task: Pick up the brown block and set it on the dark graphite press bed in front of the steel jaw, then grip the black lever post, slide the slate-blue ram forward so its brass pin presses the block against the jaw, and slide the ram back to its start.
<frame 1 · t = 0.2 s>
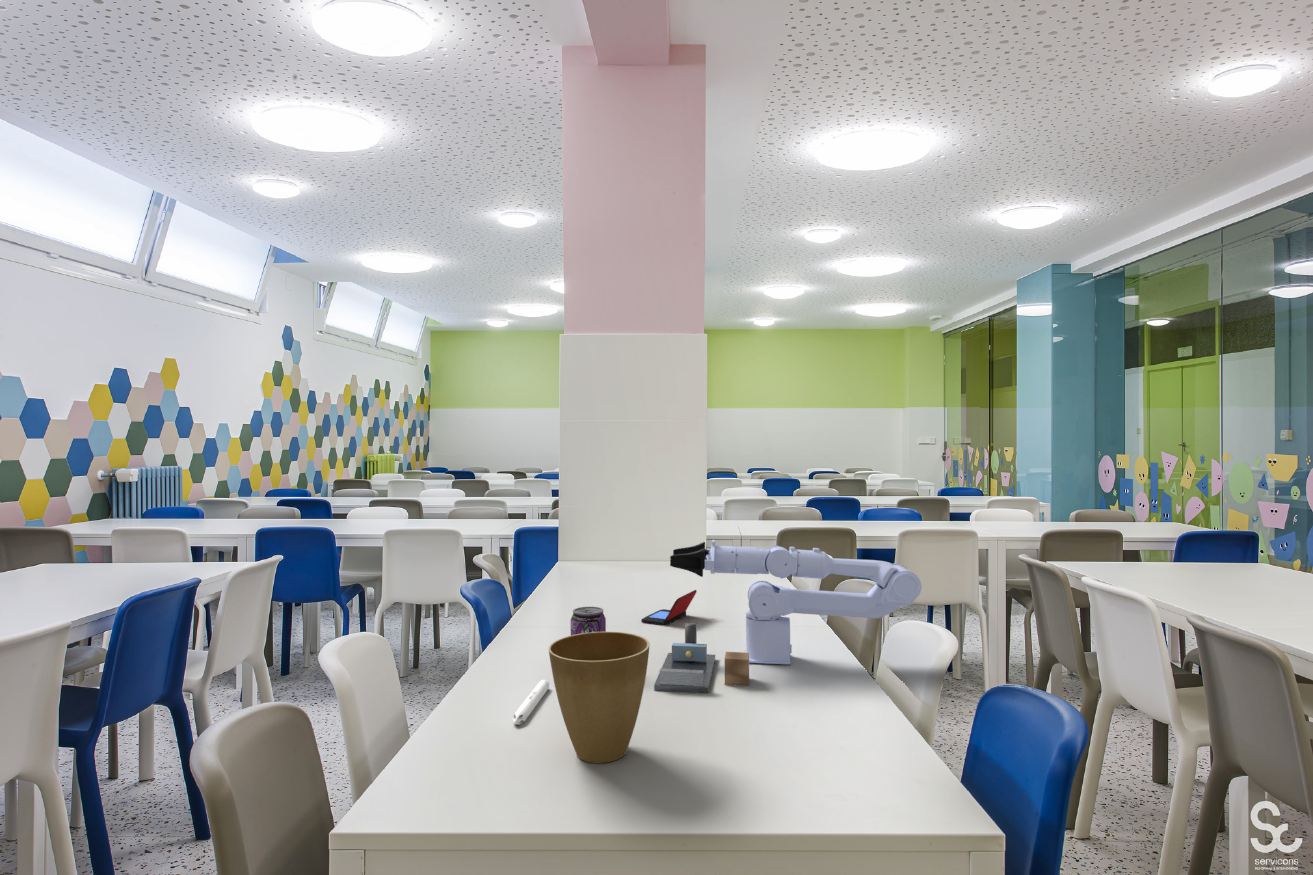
hand: (671, 557, 151), 21 cm above the table, tool horizontal, fingers open, 7 cm apart
brown block: (737, 681, 135), on the table
marker: (530, 709, 122), on the table
plant pot: (599, 753, 104), on the table
ram: (689, 642, 145), point 5 cm above the table, slide at 0.0 cm
handheld game console: (669, 621, 182), on the table
press bed: (686, 675, 138), on the table
beverage can: (588, 670, 142), on the table
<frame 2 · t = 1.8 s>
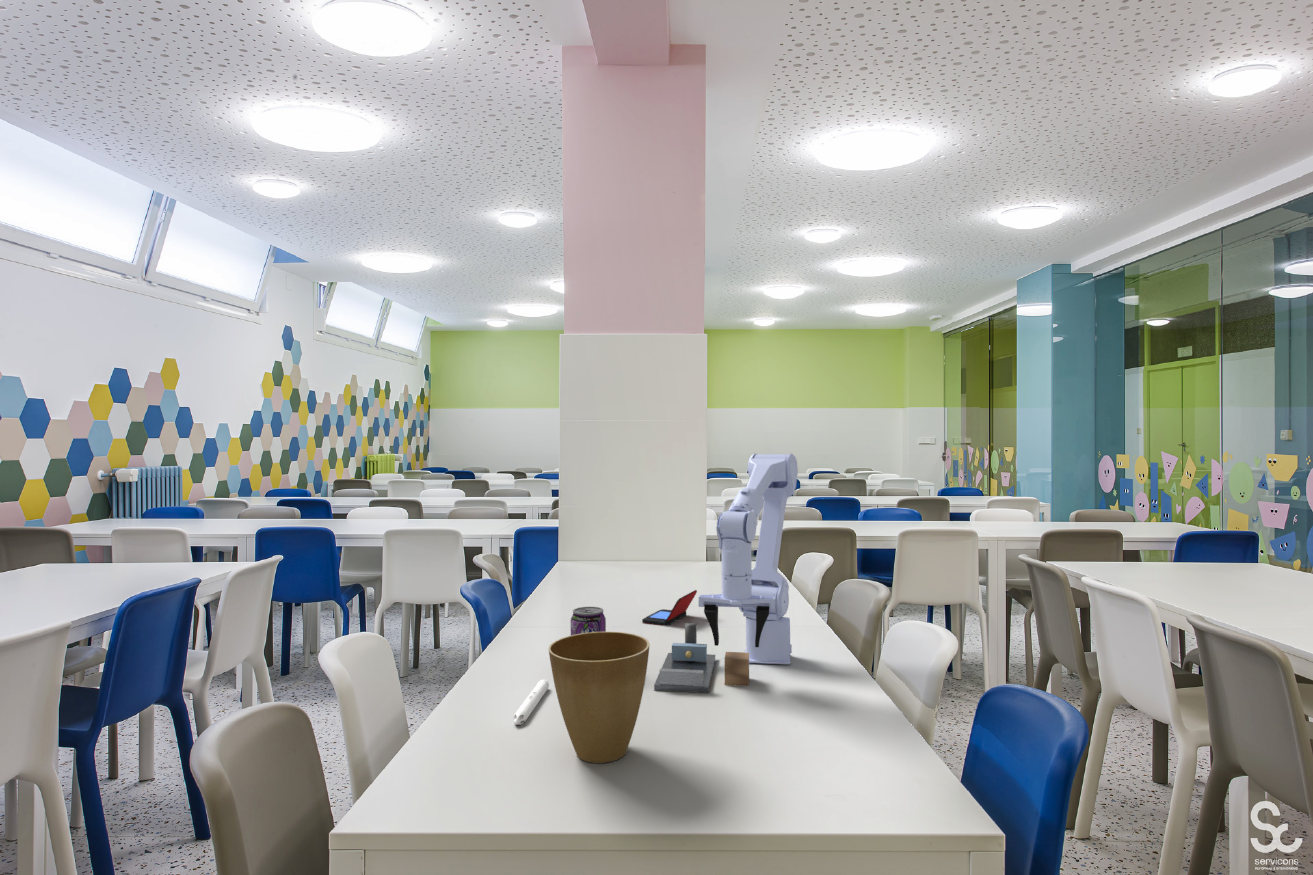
hand: (736, 644, 135), 7 cm above the table, tool pointing down, fingers open, 7 cm apart
nothing on the table moved.
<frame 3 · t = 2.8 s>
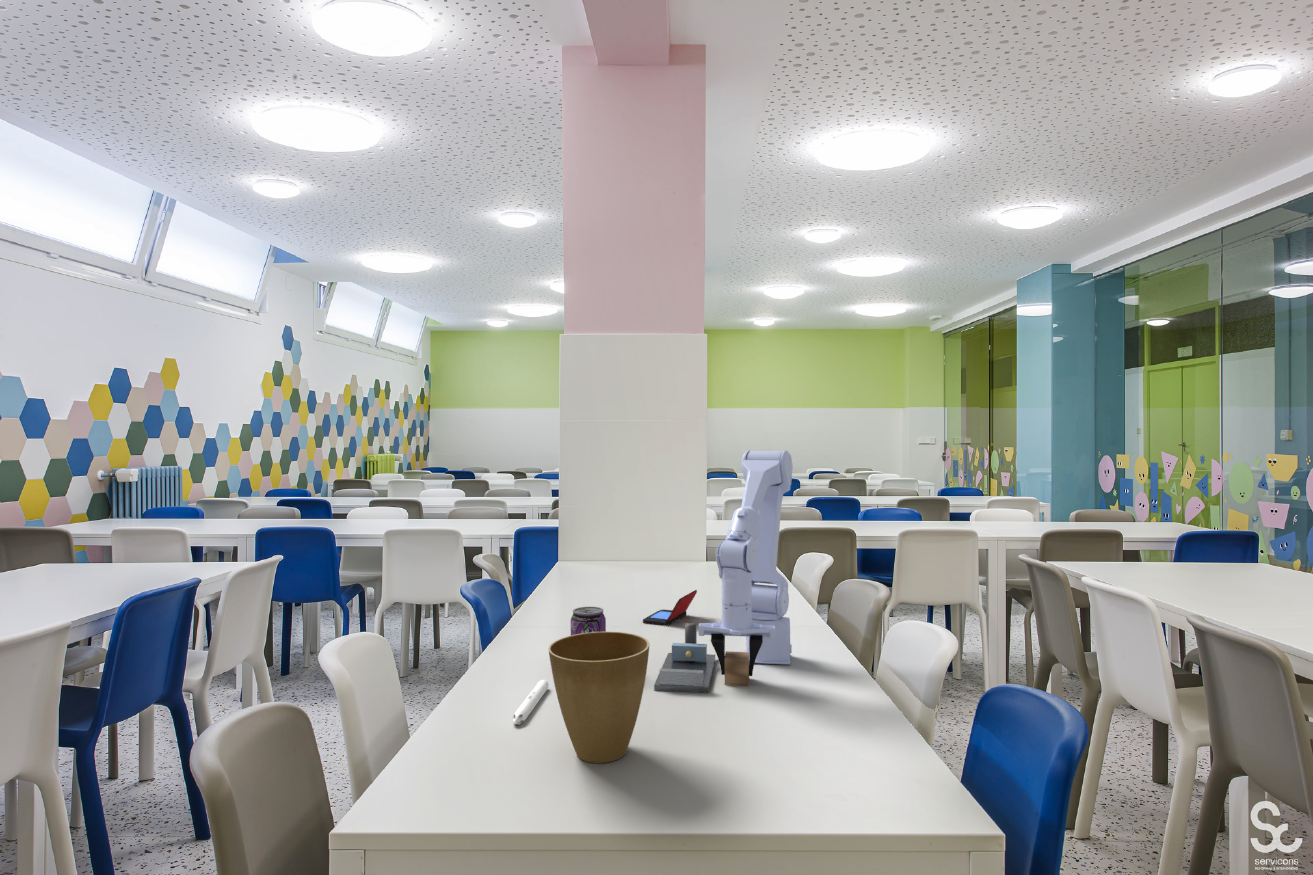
hand: (737, 673, 135), 1 cm above the table, tool pointing down, fingers closed on brown block, 4 cm apart
brown block: (737, 681, 135), on the table, touching gripper
everything else where it was.
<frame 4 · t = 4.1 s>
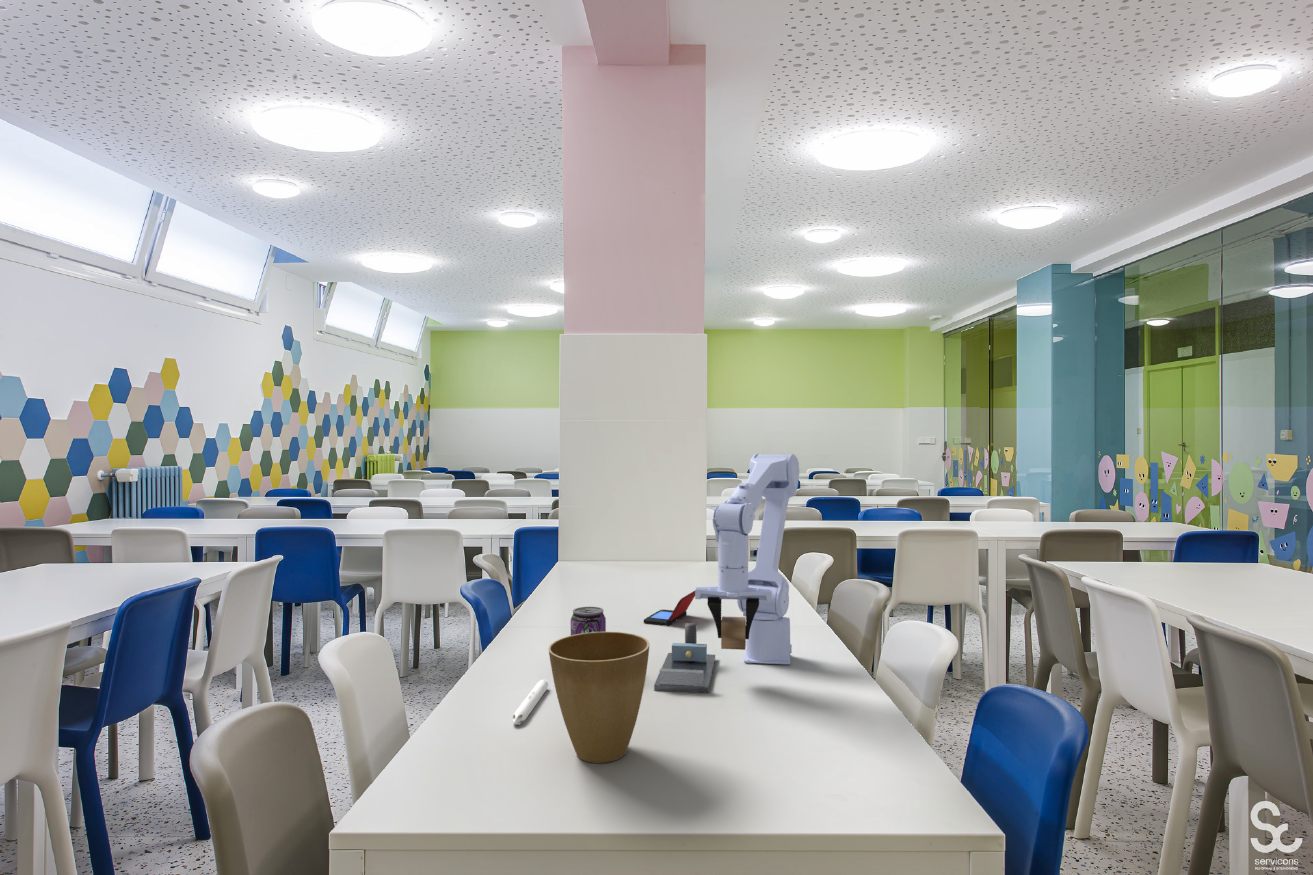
hand: (733, 637, 135), 8 cm above the table, tool pointing down, fingers closed on brown block, 4 cm apart
brown block: (733, 645, 135), point 7 cm above the table, touching gripper
everything else where it was.
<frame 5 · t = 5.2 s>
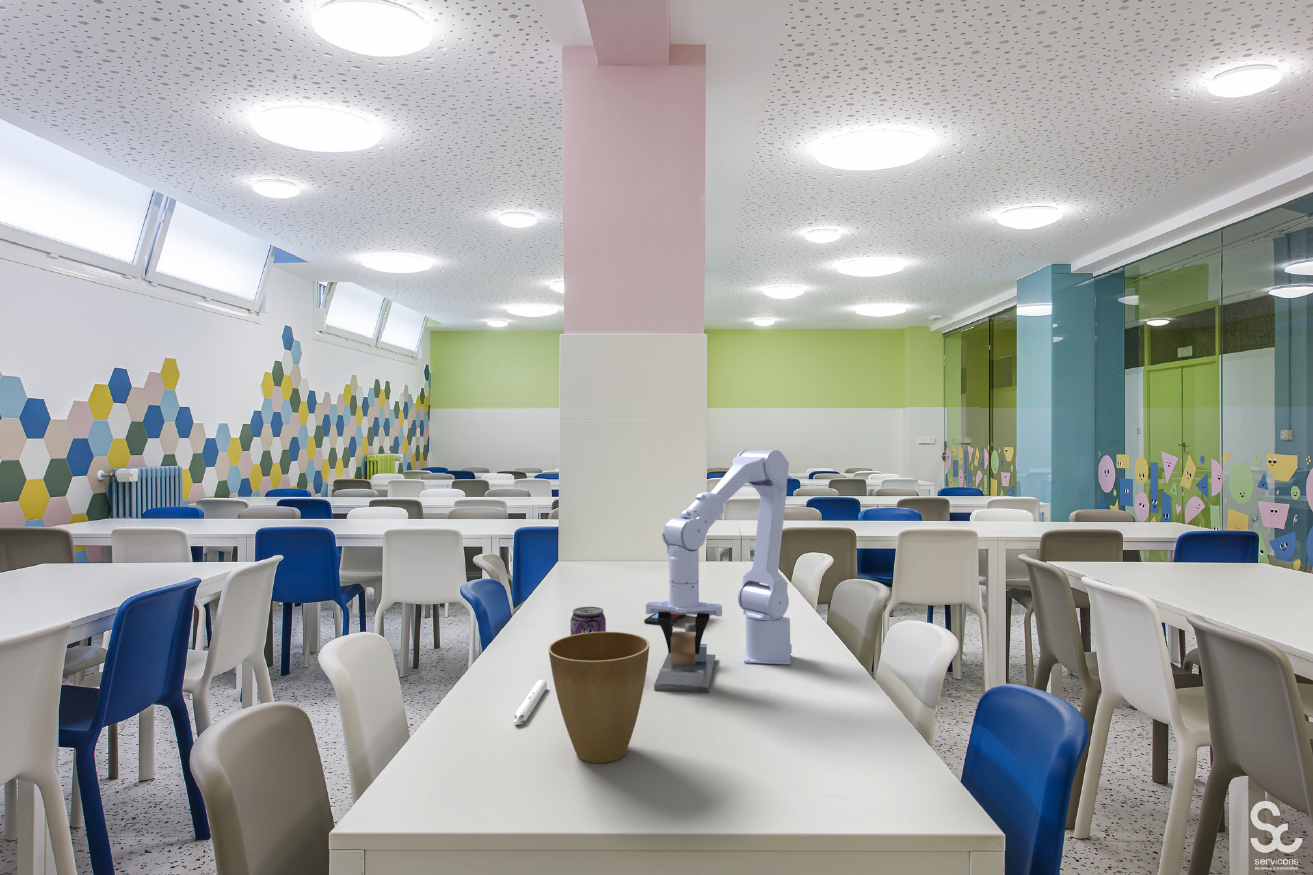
hand: (684, 652, 135), 6 cm above the table, tool pointing down, fingers closed on brown block, 4 cm apart
brown block: (684, 660, 135), point 4 cm above the table, touching gripper
everything else where it was.
when the fingers open (4 cm above the table, at t = 6.0 s): brown block drops 1 cm, resting on press bed.
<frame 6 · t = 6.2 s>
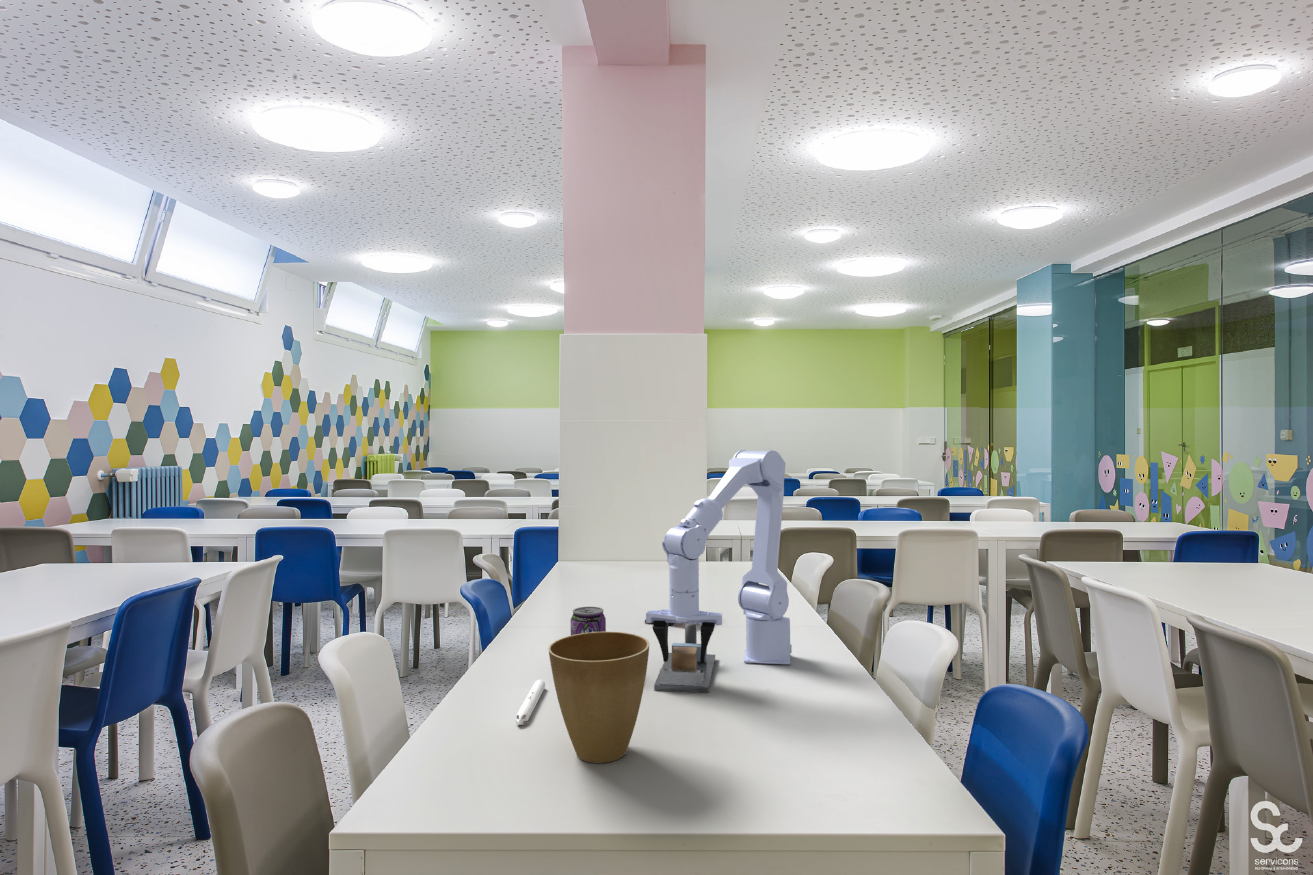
hand: (684, 660, 135), 4 cm above the table, tool pointing down, fingers open, 6 cm apart
brown block: (684, 676, 135), point 1 cm above the table, touching press bed
everything else where it was.
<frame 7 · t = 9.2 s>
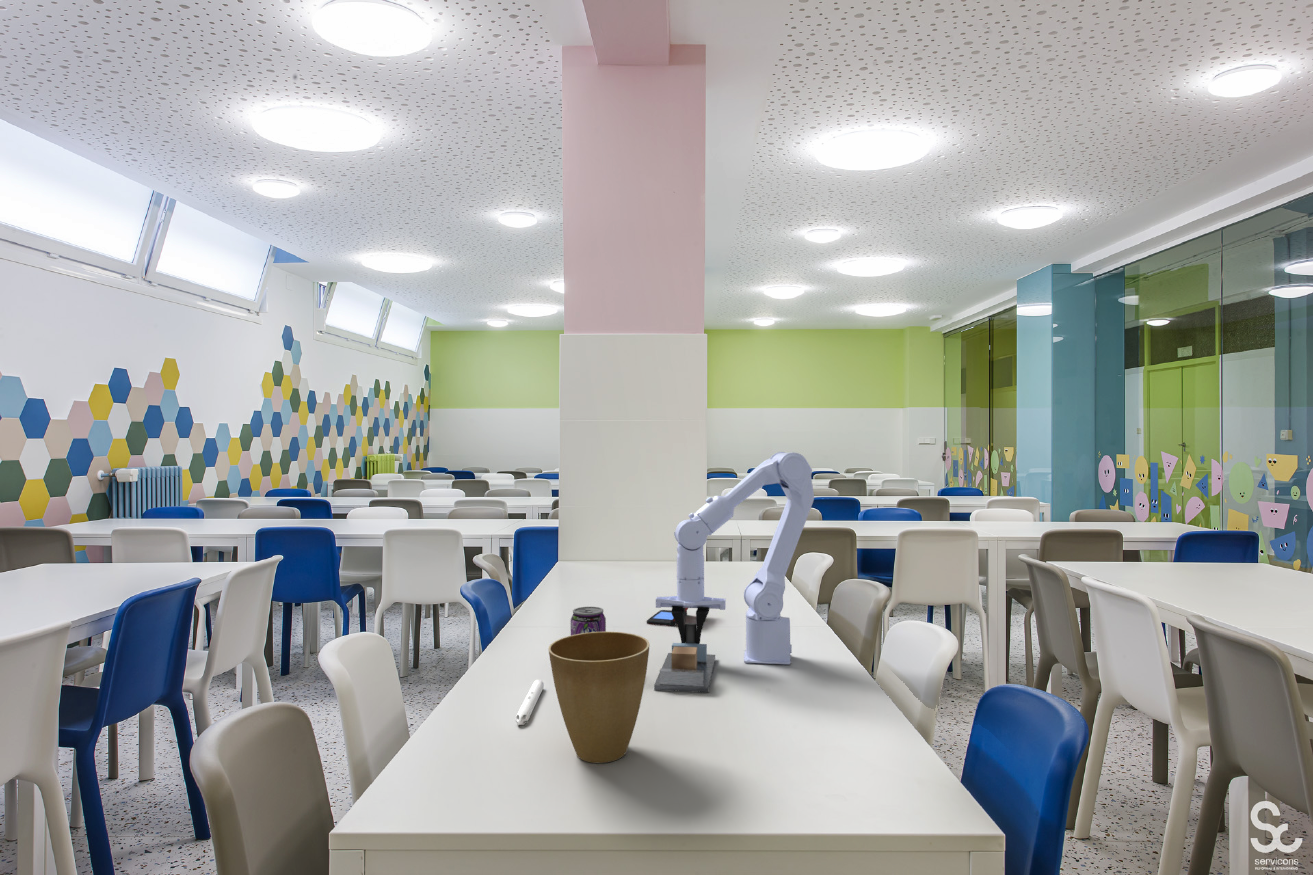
hand: (690, 642, 147), 4 cm above the table, tool pointing down, fingers closed on ram, 2 cm apart
ram: (689, 642, 145), point 5 cm above the table, slide at 0.0 cm, touching gripper
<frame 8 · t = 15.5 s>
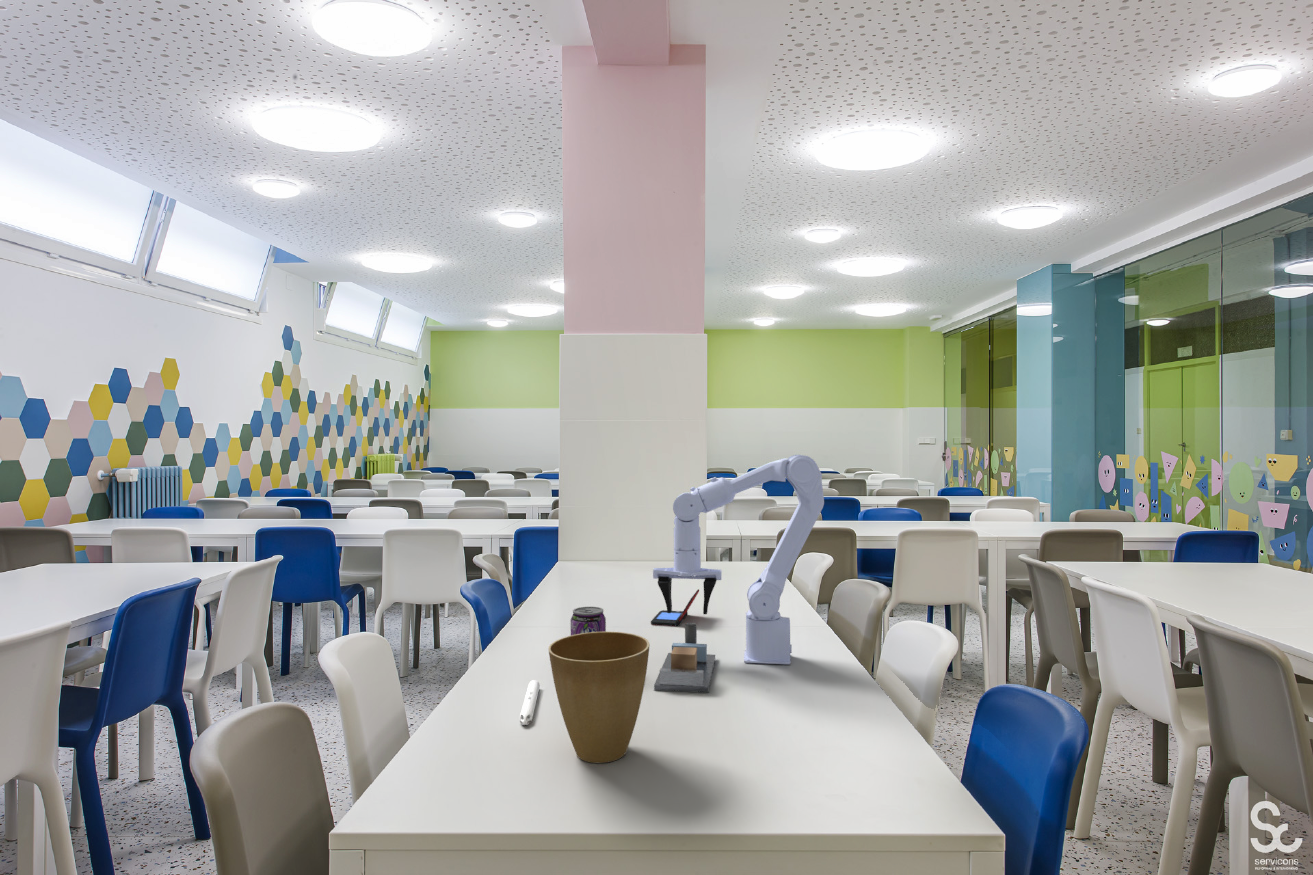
hand: (687, 612, 150), 9 cm above the table, tool pointing down, fingers open, 7 cm apart
ram: (689, 642, 145), point 4 cm above the table, slide at 0.0 cm
at the end: brown block 0.1 cm from the target spot, point 1.0 cm above the table; brown block tilted 0°; ram slide at 0.0 cm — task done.
